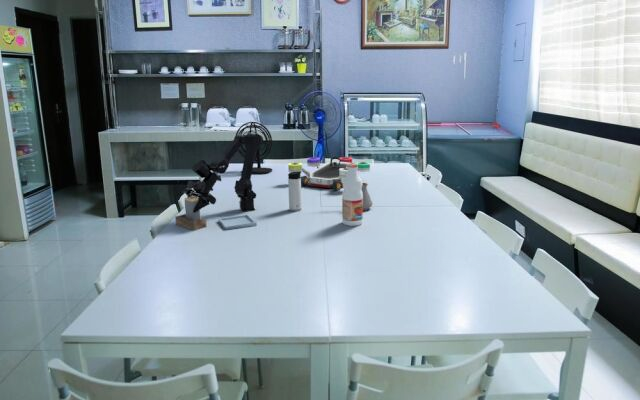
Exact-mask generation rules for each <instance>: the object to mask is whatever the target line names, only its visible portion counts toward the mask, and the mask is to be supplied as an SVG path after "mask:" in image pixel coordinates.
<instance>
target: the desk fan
mask: <svg viewBox="0 0 640 400" xmlns="http://www.w3.org/2000/svg"><path fill="white" fill-rule="evenodd" d="M248 124H250V125H248ZM246 125H247V126H246ZM244 126H245V127H244ZM252 127H253V128H254V129H253V128H252ZM248 128H249V130H247V131H246V132H245V130H246V129H248ZM258 132H260V133H261V134H262V135H263V136H264V137H263V136H262V135H260V134H259V135H260V136H261V138H262V141H261V144H260V147H259V148H258V150H257V151H256V153H255V158H254V162H256V165H257V166H256V167H255V166H253V169H252V174H255V175H256V174H257V175H263V174H269V173H271V172H272V171H273V168H270V167H262V166H261V164H262V163H261V160H264V159H266V157H268V156H269V154H270V153H271V151H272V148H273V138H272V135H271V132H270V131H269V129H268V128H267V127H266V126H265V125H263V124H262V123H260V122H257V121H249V122H246V123H243V124H242V125H240V126H239V128H238V129H237V130H236V133H235V136H237V135H247V134H248V133H253V134H258ZM264 139H265V140H264ZM243 145H244V143H243ZM243 145H242V146H241V147H240V148H239V150H238V151H237V153H239V155H240V156H242V157H243V159H244V158H245V153H246V148H245V147H244V146H243ZM263 145H264V146H263ZM262 146H263V148H262ZM264 149H265V150H264ZM263 150H264V152H263V153H261V152H262V151H263ZM265 154H266V155H265ZM264 155H265V156H264ZM263 156H264V157H263ZM261 157H262V158H261ZM252 174H251V175H252Z"/></svg>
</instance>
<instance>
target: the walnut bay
mask: <svg viewBox="0 0 640 400" xmlns="http://www.w3.org/2000/svg"><path fill="white" fill-rule="evenodd" d="M174 219H175V225H176V226H178V225H179V227H181V226H182V228H185V229H188V230H191V231H197V230H200V228H201V229H204V228H207V219H206V218H205V217H204V218H200V220H196V221H191V220H188V219H186V213H184V214H180V215H175V218H174Z"/></svg>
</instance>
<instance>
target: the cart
mask: <svg viewBox="0 0 640 400" xmlns="http://www.w3.org/2000/svg"><path fill="white" fill-rule="evenodd" d="M336 160H339V161H336ZM306 162H307V163H306V164H307V165H306V166H307V167H313V168H315V167H316V168H317V169H315V170H313V171H312V172H310V171H308V170H306V169H305V168H303V163H302V162H291V163H290V162H289V163H288V172H289V173H291V172H296V171H301V173H304V174H305V175H303V176H300V177H301V187H308V184H309V186H311V187H318V188H319V187H320V188H324V189H325V188H327V189H330V188H331V189H333V191H338V190H341V189H342V187H343V185H340V184H338V183H337V182H335V181H332V179H334V180H337V181H339V182H342V183H343V180H344V178H345V177H346V175H347V171H348V168H347V164H349V163H353V157H348V156H342V157H338V156H333V157H330V161H329V162H327V163H326V164H324V165H322V166H321V158H320V157H315V156H314V157H313V156H311V157H307V158H306ZM356 164H358V168H357V172H358V173H361V172H362V173H367V172H370V170H371V164H370V162H366V161H359V162H356ZM331 181H332V183H331Z"/></svg>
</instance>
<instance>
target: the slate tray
mask: <svg viewBox="0 0 640 400" xmlns="http://www.w3.org/2000/svg"><path fill="white" fill-rule="evenodd" d="M217 221H219V222H218V223H219V224H220V226H222V228H223V229H224V230H225V231H229V230H236V229H242V228H250V227H256V226H257V225H258V224H257V221H255V219H254V218H252V217H251V216H250V215H249V214H241V215H234V216H226V217H220V218H217Z"/></svg>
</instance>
